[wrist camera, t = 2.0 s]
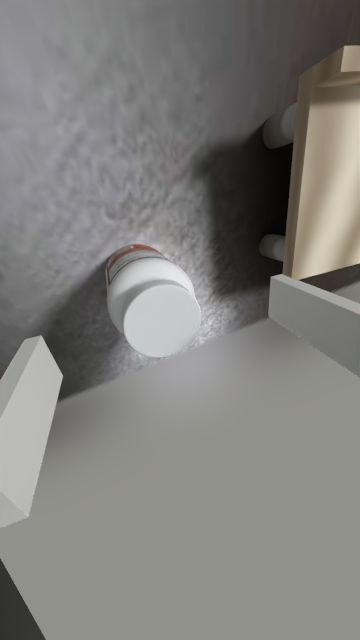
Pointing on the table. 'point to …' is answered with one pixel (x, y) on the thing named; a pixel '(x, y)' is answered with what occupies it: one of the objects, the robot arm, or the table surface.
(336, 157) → the beige small table
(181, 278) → the pill bottle
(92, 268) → the table surface
